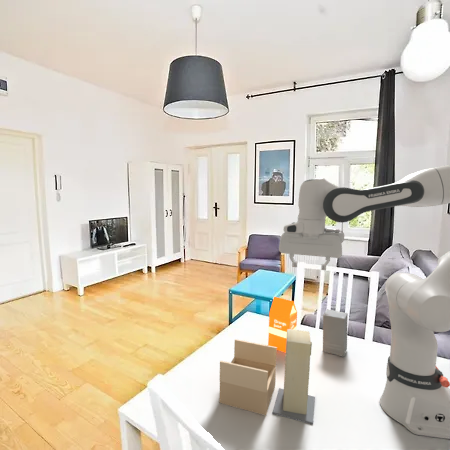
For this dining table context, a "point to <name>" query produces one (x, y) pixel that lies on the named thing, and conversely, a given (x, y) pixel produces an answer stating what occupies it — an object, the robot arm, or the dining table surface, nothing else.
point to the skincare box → (335, 332)
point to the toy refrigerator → (297, 371)
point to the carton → (249, 377)
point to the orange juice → (281, 322)
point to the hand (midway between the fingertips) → (308, 268)
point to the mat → (301, 417)
